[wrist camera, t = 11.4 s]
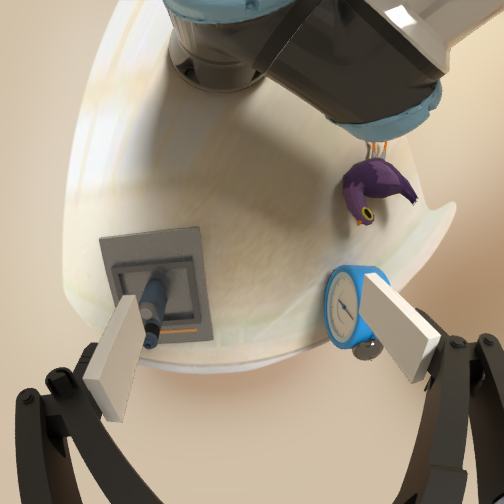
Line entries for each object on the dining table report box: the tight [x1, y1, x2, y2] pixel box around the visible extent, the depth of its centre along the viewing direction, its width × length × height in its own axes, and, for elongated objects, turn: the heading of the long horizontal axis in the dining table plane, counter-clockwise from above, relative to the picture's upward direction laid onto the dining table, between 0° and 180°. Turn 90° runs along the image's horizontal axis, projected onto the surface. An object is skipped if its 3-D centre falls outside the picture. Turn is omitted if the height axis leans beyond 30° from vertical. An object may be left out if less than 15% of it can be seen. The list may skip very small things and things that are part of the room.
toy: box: [343, 141, 418, 226], centre depth 40 cm, size 11×12×7 cm
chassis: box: [99, 227, 214, 343], centre depth 44 cm, size 20×16×2 cm
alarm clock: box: [324, 265, 391, 361], centre depth 42 cm, size 13×6×15 cm, turn 174°
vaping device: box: [139, 280, 167, 349], centre depth 39 cm, size 3×5×12 cm, turn 10°
